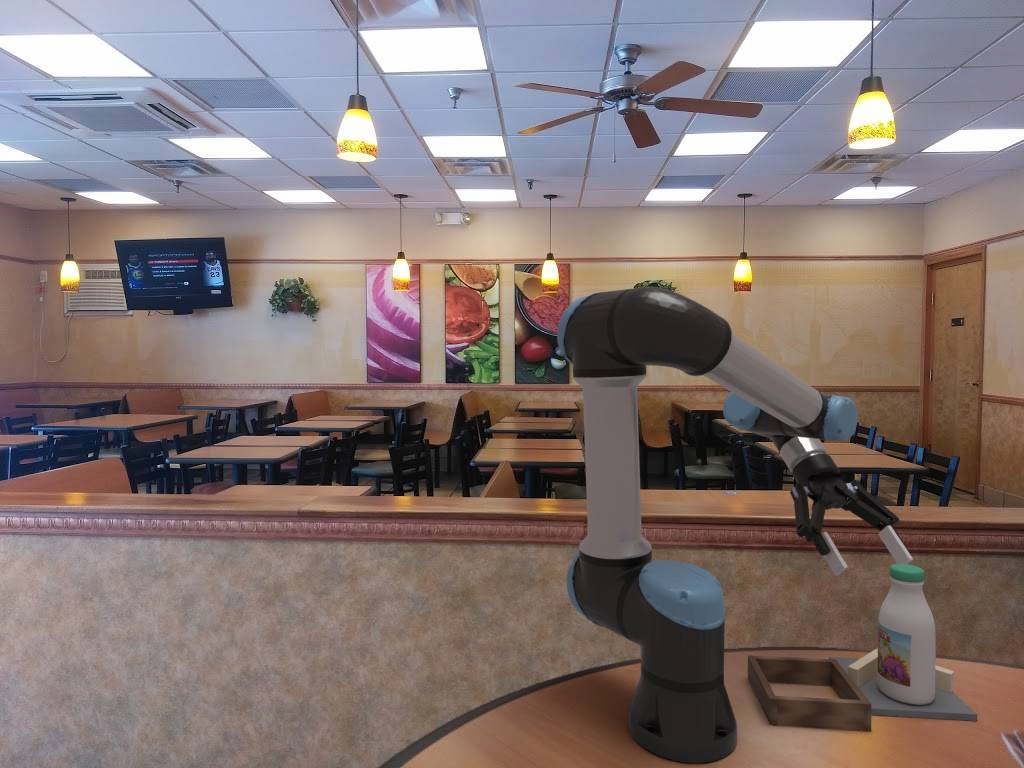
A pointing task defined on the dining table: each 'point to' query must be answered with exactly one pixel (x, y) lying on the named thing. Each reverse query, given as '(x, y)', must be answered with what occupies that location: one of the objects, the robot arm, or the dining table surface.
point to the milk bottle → (906, 639)
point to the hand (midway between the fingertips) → (874, 567)
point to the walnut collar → (806, 710)
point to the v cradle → (939, 708)
